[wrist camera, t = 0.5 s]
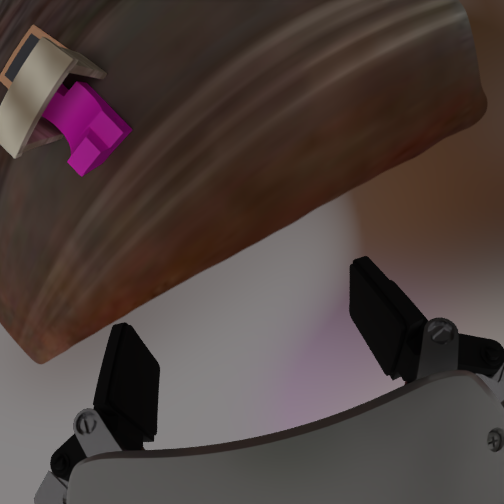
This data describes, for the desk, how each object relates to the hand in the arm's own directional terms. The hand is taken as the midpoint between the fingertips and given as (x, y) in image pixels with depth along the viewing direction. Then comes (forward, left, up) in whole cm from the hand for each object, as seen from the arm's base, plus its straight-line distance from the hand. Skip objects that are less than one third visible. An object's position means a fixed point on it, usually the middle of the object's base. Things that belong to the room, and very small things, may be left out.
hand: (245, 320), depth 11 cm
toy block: (+6, -20, -28) cm, 35 cm away
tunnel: (+5, -24, -28) cm, 37 cm away
